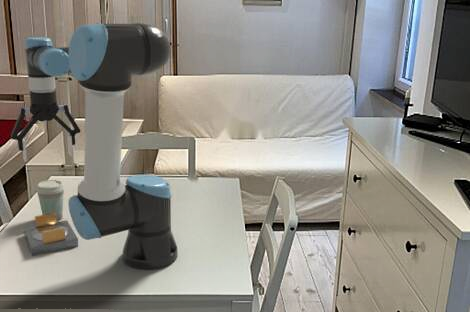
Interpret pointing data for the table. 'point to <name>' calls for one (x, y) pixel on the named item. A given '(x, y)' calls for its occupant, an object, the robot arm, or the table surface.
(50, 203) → the coffee cup
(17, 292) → the table surface
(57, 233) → the block
